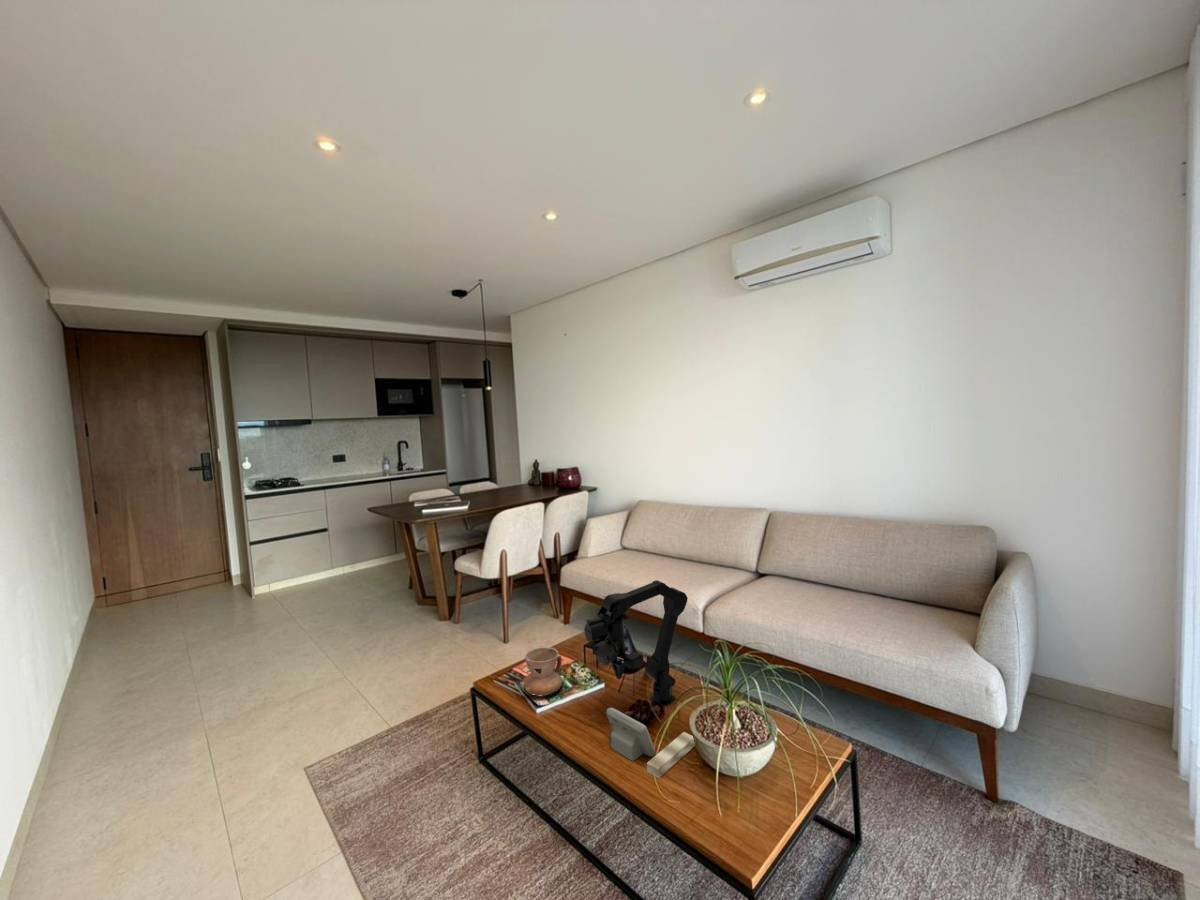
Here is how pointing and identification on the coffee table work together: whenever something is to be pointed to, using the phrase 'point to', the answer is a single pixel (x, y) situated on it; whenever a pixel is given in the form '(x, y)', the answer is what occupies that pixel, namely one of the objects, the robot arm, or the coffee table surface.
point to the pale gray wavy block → (670, 755)
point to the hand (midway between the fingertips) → (619, 678)
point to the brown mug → (542, 671)
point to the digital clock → (629, 736)
